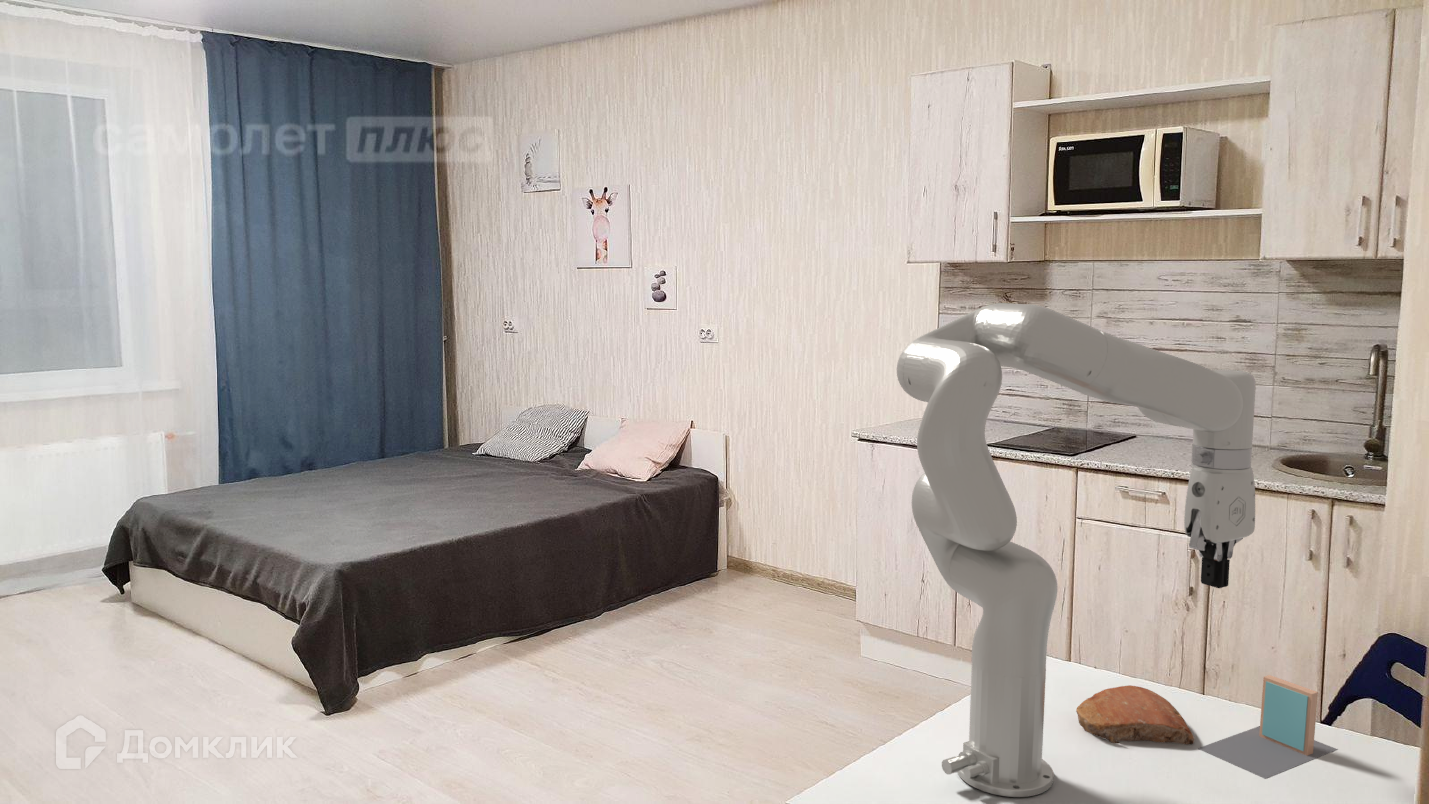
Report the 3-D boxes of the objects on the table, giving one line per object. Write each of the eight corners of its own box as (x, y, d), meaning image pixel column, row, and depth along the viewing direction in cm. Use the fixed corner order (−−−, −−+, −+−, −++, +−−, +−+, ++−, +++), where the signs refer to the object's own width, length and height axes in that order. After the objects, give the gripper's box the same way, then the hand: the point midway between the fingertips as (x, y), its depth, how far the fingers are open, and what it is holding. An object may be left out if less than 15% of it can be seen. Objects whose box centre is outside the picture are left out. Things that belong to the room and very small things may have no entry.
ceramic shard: (1062, 672, 161) (1157, 686, 160) (1056, 712, 161) (1151, 727, 160) (1097, 699, 146) (1201, 715, 146) (1090, 743, 146) (1194, 760, 146)
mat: (1265, 781, 136) (1265, 778, 136) (1197, 751, 145) (1197, 748, 145) (1337, 752, 145) (1337, 749, 145) (1269, 725, 153) (1269, 722, 153)
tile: (1306, 756, 143) (1311, 694, 141) (1258, 736, 149) (1262, 677, 148) (1313, 753, 143) (1317, 692, 142) (1265, 734, 149) (1269, 675, 148)
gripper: (1212, 468, 136) (1205, 601, 139) (1278, 457, 144) (1271, 583, 146) (1163, 459, 143) (1157, 586, 145) (1228, 449, 150) (1222, 570, 153)
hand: (1214, 584), depth 146 cm, fingers closed
